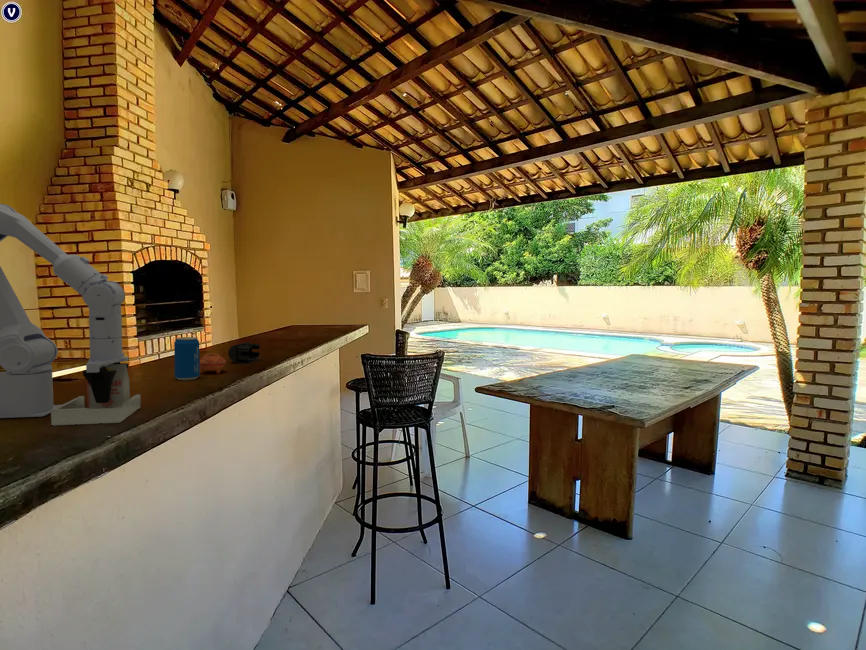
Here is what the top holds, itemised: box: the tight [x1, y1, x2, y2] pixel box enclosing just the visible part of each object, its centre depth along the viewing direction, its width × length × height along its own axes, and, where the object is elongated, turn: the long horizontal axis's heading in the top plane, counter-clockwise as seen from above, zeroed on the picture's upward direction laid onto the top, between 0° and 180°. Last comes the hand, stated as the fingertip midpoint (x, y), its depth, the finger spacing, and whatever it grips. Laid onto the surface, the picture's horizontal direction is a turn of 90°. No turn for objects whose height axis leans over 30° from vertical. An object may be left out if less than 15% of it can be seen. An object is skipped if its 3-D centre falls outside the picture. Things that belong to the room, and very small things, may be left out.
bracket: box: [50, 393, 141, 426], centre depth 96 cm, size 12×12×3 cm
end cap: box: [227, 341, 261, 365], centre depth 167 cm, size 10×7×7 cm
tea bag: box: [86, 364, 131, 408], centre depth 101 cm, size 4×7×10 cm, turn 106°
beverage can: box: [173, 336, 201, 381], centre depth 135 cm, size 6×6×12 cm
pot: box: [200, 352, 227, 375], centre depth 145 cm, size 8×8×7 cm
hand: (107, 399), depth 101 cm, fingers open, 5 cm apart
